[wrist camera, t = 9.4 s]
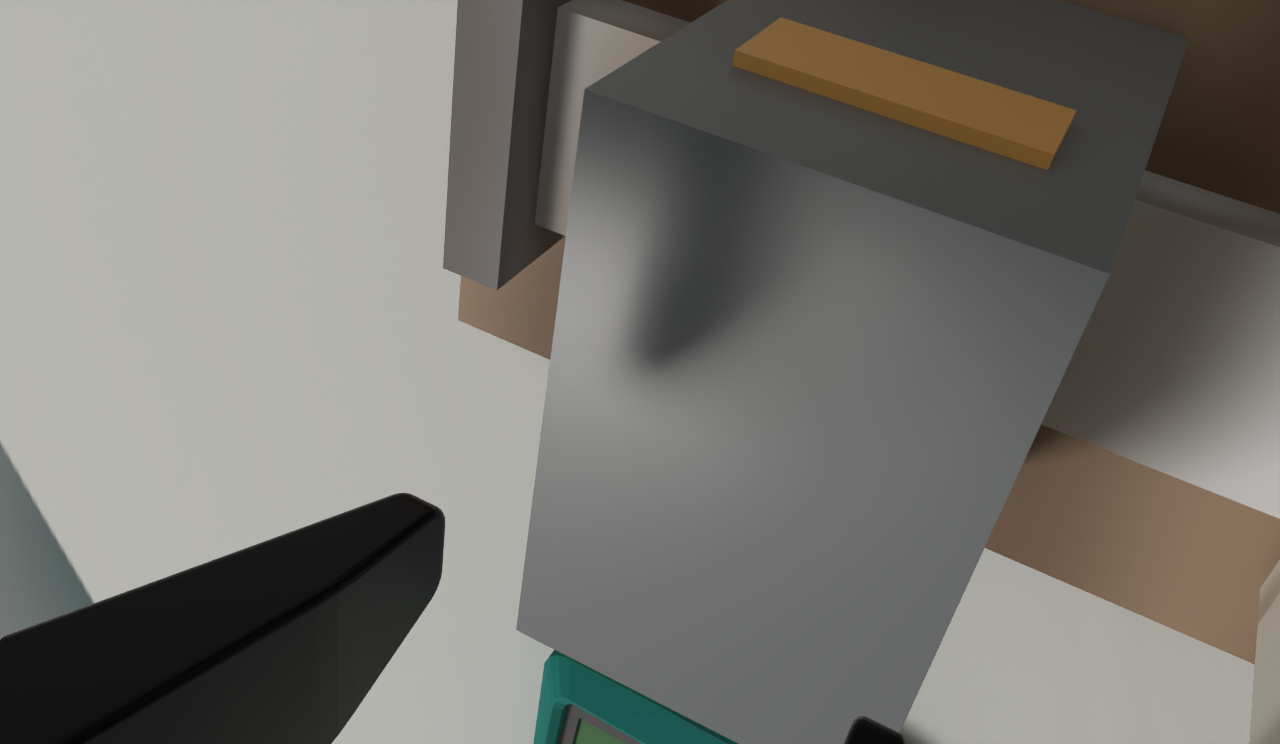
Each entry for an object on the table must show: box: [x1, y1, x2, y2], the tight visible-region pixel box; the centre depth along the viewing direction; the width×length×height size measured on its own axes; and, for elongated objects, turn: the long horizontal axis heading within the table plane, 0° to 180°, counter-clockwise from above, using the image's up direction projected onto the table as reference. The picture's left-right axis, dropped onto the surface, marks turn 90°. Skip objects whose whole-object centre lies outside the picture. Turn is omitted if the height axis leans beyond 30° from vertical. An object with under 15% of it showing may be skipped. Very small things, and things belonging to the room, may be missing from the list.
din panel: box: [443, 0, 1280, 744], centre depth 13 cm, size 22×10×8 cm, turn 82°
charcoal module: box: [516, 0, 1189, 744], centre depth 14 cm, size 4×7×7 cm, turn 172°
